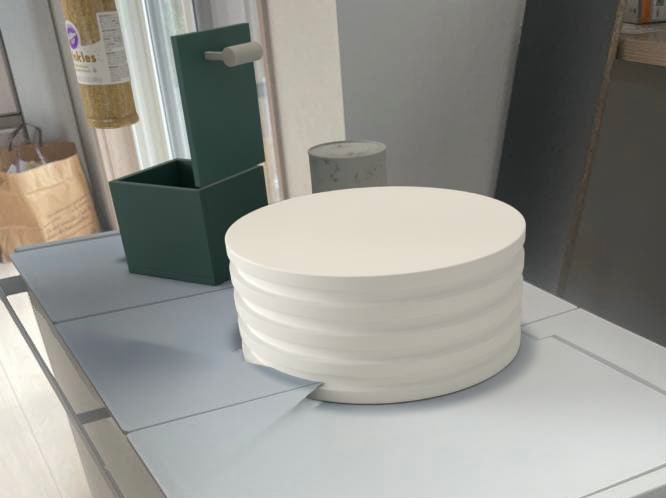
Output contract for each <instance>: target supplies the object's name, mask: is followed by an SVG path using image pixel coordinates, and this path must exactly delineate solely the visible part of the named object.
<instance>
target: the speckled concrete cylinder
mask: <svg viewBox="0 0 666 498" xmlns="http://www.w3.org/2000/svg"><path fill="white" fill-rule="evenodd" d="M386 150H387V145H385V143H382V142H380V141H376V140H375V141H374V140H366V139H348V140H347V139H346V140H336V141H334V140H333V141H327V142H322V143H318V144H315V145H313V146H311V147H308V149H307V155H308V163H309V165H308V166H309V173H310V174H309V175H310V184H311V194H315V193H321V192H328V191H335V190H343V189H353V188H366V187H388V179H387V178H388V177H387V174H388V173H387V156H386V155H387V154H386V153H387V152H386Z"/></svg>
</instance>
